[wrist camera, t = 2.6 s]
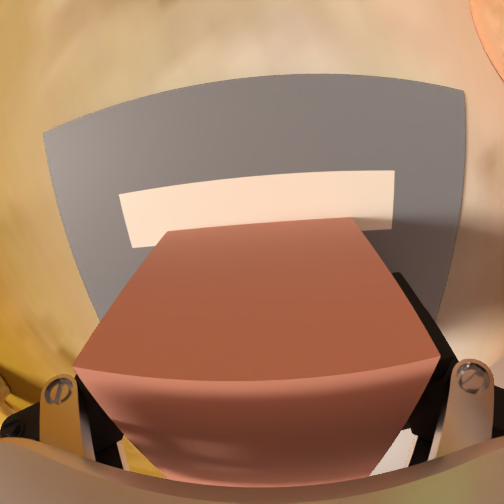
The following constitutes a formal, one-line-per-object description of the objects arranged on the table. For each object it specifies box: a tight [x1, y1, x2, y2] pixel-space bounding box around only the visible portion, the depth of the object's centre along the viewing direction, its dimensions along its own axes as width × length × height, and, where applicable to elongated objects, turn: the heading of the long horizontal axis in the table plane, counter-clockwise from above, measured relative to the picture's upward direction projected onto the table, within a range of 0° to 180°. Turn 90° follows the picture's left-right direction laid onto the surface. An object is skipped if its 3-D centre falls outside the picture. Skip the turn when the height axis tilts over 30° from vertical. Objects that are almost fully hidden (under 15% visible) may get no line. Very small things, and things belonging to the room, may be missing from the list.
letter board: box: [43, 74, 465, 321], centre depth 11 cm, size 15×15×1 cm
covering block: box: [72, 217, 441, 487], centre depth 8 cm, size 6×6×6 cm
